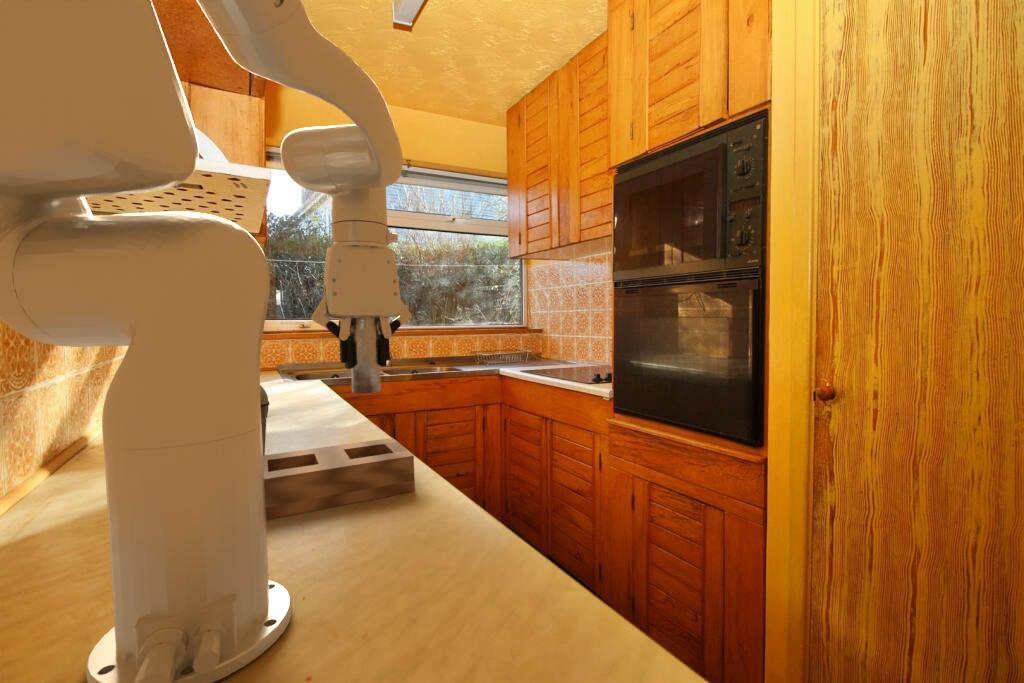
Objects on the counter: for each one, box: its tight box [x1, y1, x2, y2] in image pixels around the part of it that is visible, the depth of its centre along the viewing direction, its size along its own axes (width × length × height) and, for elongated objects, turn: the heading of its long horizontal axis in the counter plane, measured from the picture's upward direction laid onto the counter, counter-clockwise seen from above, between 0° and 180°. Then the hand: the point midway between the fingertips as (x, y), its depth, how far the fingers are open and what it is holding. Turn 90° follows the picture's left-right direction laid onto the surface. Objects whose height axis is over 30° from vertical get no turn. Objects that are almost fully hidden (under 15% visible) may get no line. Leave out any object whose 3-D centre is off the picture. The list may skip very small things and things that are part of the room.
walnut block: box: [263, 437, 416, 521], centre depth 66 cm, size 20×12×5 cm, turn 118°
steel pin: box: [349, 315, 382, 395], centre depth 68 cm, size 4×4×12 cm
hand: (365, 365), depth 68 cm, fingers closed on steel pin, 4 cm apart
